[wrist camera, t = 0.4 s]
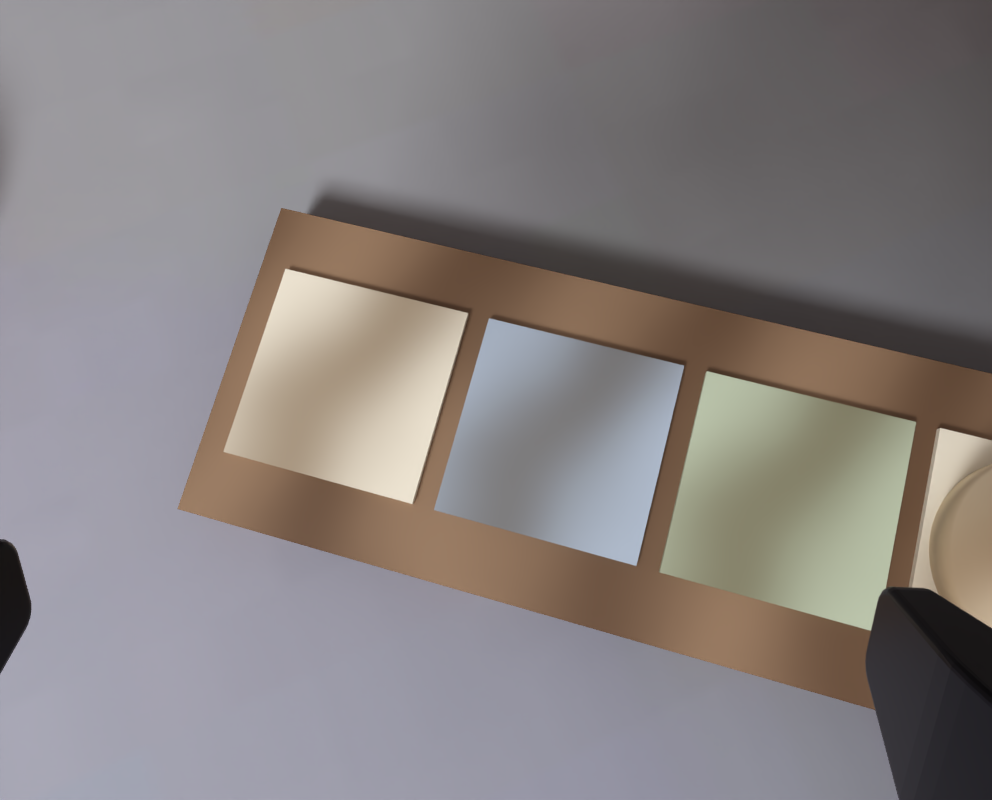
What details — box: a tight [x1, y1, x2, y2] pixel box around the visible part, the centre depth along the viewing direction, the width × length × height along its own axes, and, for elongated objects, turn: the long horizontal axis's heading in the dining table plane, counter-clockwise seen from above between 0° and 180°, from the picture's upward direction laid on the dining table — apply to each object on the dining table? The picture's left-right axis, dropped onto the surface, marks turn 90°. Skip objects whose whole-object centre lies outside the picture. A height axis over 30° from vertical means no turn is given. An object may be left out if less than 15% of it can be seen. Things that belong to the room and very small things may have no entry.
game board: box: [178, 208, 992, 710], centre depth 22 cm, size 25×9×2 cm, turn 75°
